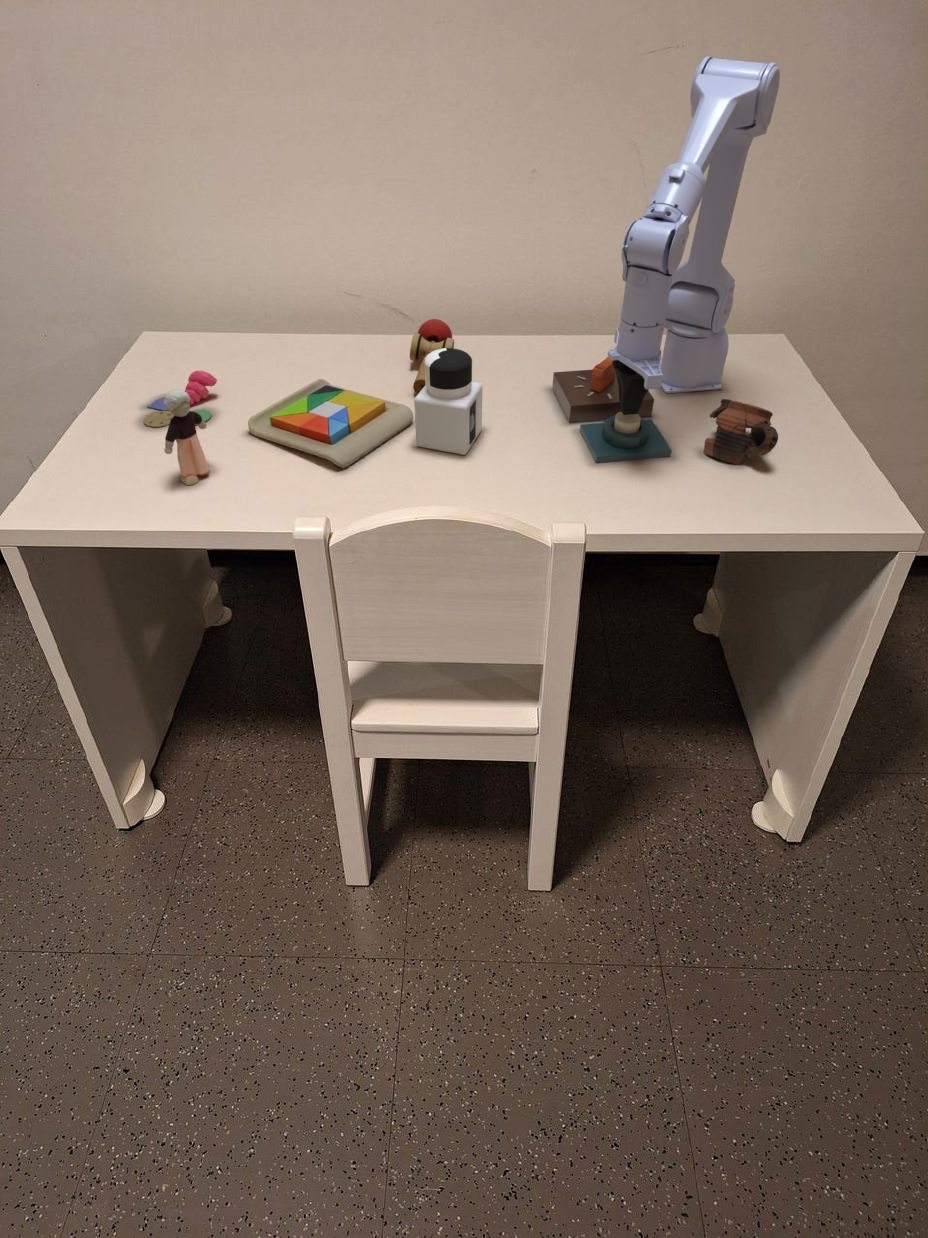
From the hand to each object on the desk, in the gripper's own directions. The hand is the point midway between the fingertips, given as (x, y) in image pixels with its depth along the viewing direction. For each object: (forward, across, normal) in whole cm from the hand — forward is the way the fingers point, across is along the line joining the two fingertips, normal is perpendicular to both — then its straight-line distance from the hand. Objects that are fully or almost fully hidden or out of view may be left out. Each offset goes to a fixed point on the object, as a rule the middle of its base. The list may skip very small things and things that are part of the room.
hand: (628, 412), depth 115 cm
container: (+5, -5, -25) cm, 26 cm away
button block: (+5, 0, 0) cm, 5 cm away
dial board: (+5, -12, 0) cm, 14 cm away
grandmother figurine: (+5, -1, -61) cm, 61 cm away
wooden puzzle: (+5, -11, -42) cm, 44 cm away
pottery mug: (+5, +4, +16) cm, 17 cm away
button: (+2, 0, 0) cm, 3 cm away
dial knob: (+2, -12, 0) cm, 13 cm away
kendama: (+5, -27, -25) cm, 37 cm away
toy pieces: (+5, -20, -65) cm, 68 cm away
